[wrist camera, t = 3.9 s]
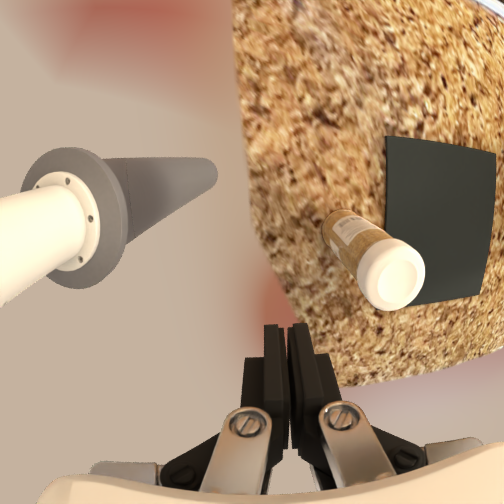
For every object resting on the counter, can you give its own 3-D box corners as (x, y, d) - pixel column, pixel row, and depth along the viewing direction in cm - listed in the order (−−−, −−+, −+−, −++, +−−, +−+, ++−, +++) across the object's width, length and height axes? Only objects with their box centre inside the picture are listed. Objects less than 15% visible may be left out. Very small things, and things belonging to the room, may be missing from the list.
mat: (375, 308, 32) (376, 310, 31) (385, 135, 25) (386, 135, 25) (477, 293, 31) (479, 294, 31) (494, 153, 25) (496, 153, 24)
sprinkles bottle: (320, 249, 29) (360, 315, 17) (322, 206, 28) (370, 246, 15) (360, 250, 29) (419, 311, 17) (363, 208, 28) (433, 247, 15)
